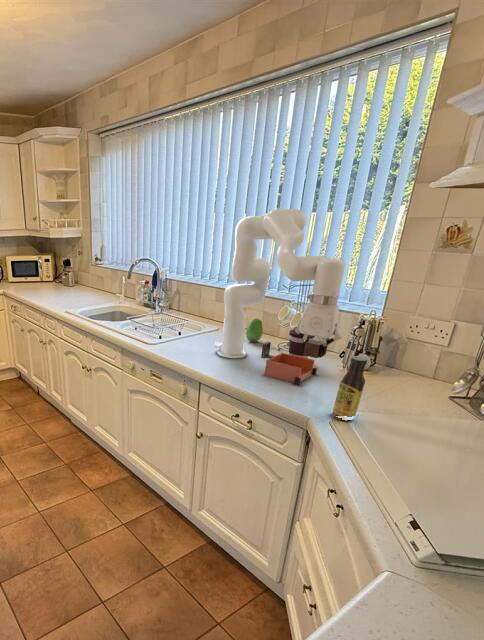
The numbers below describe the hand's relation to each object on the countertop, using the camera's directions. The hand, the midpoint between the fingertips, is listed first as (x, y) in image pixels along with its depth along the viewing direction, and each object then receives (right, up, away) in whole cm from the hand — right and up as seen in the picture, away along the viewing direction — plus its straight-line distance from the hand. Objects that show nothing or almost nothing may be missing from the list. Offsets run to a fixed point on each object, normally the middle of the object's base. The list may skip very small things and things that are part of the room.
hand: (312, 354), depth 131 cm
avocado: (+5, +11, +69) cm, 70 cm away
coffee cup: (+13, -1, +39) cm, 41 cm away
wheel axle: (+7, -8, +20) cm, 23 cm away
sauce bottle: (+5, -21, -9) cm, 23 cm away
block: (0, 0, 0) cm, 0 cm away
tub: (+1, -6, +26) cm, 27 cm away
